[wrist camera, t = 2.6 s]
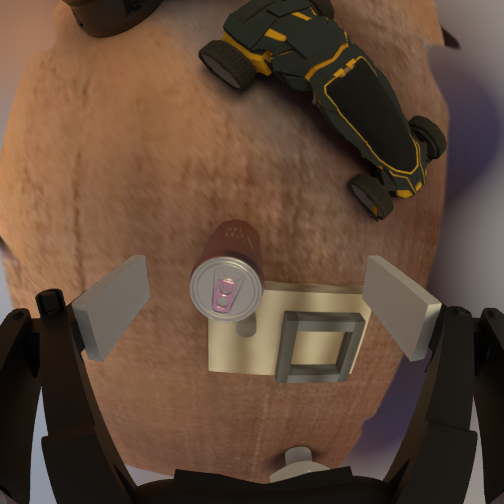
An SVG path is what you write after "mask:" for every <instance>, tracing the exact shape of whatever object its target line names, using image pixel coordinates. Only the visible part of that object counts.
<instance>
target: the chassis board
mask: <svg viewBox="0 0 504 504" xmlns="http://www.w3.org/2000/svg"><path fill="white" fill-rule="evenodd" d="M363 288H364V286H355V285H332V284H312V283H294V282H278V281H264V292H263V295H262V298H261V301H260V303H259V305H258V307H257V309H256V310H255V311H254V312H253V313H252V314H251V315H250V316H248V317H247V318H245V319H243V320H241V321H237V322H232V323H222V322H217V321H214V320H212V319H209V318H208V348H209V371H217V372H229V373H242V374H260V375H276V383H319V382H341V381H347V378H348V375H349V374H351V372H352V370H353V367H354V364H355V361H356V358H357V355H358V352H359V349H360V346H361V343H362V340H363V337H364V334H365V330H366V327H367V324H368V320H369V317H370V313H371V309H370V308H369V306H368V305H367V304H366V303H365V301H364V300H363V299H362V294H363Z"/></svg>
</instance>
